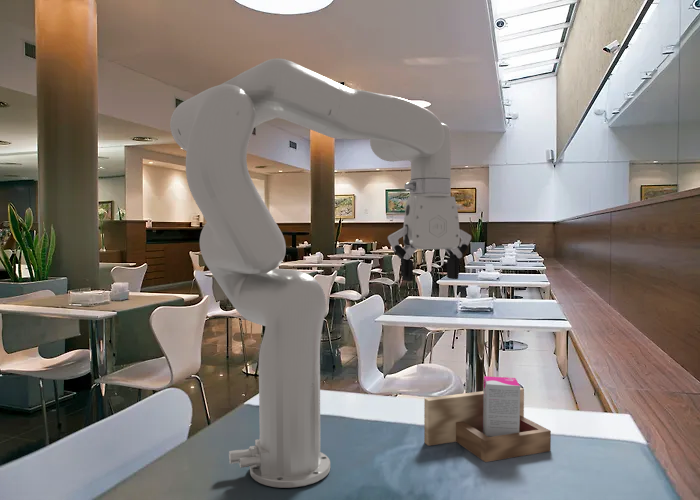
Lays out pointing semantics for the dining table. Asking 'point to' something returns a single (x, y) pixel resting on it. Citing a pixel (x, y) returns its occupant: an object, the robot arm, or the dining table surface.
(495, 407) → the supplement box
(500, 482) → the dining table surface
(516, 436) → the wooden tray holder
